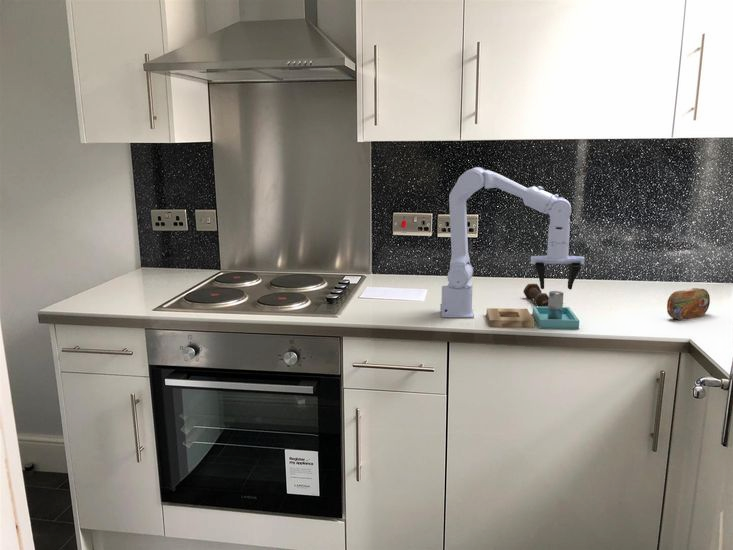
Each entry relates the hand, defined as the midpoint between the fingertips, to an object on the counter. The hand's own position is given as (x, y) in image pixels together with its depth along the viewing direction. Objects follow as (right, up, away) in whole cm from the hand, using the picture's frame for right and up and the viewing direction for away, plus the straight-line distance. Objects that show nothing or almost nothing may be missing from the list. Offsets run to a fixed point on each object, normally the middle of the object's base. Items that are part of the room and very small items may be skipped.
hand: (555, 288), depth 178 cm
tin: (+40, -9, +4) cm, 41 cm away
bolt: (+1, -6, +21) cm, 21 cm away
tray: (0, -10, +2) cm, 10 cm away
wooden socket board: (-13, -10, +4) cm, 16 cm away
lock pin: (0, -9, +2) cm, 9 cm away
